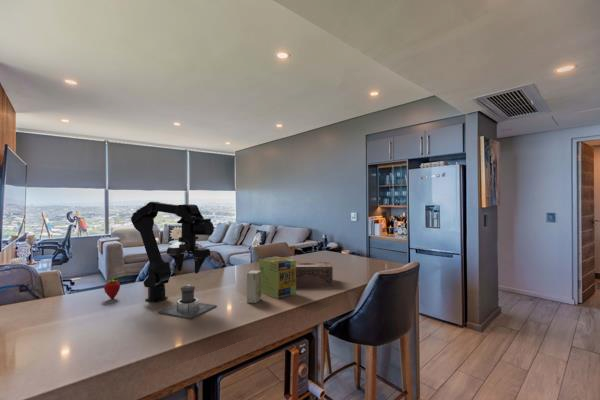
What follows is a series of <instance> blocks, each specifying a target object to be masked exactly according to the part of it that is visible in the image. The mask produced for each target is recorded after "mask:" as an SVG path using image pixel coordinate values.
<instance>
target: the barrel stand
mask: <svg viewBox="0 0 600 400" xmlns="http://www.w3.org/2000/svg"><path fill="white" fill-rule="evenodd" d="M217 307H218V305H217V304H210V303H203V302H200V299H199V298H198V297H195V296H194V302H190V303H182V298H180V299H177V301H176V303H175V304H173V305H171V306H168V307H166V308H163V309H161V310H158V311H157V314H161V315H165V316H172V317H177V318H181V319H182V318H183V319H188V320H193V319H194V318H197V317H199V316H200V315H203V314H205V313H207V312H209V311H211V310H213V309H214V308H217Z"/></svg>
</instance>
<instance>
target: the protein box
mask: <svg viewBox="0 0 600 400" xmlns="http://www.w3.org/2000/svg"><path fill="white" fill-rule="evenodd" d="M296 262H297V260H296V259H291V258H287V257H281V256H271V257H270V256H269V257H261V258H259V259H258V271H261V294H262V293H263V294H265V295H268V296H270V297H273V298H275V299H278V300H279V299H283V298H286V297H290V296H295V295H297V286H296Z"/></svg>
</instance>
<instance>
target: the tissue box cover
mask: <svg viewBox="0 0 600 400" xmlns="http://www.w3.org/2000/svg"><path fill="white" fill-rule="evenodd" d="M333 275H334V274H333V265H332V263H331V261H327V260H326V261H325V260H323V261H318V260H316V261H314V260H313V261H311V260H309V261H301V260H300V261H297V260H296V287H334V286H333V278H334V277H333Z"/></svg>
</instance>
